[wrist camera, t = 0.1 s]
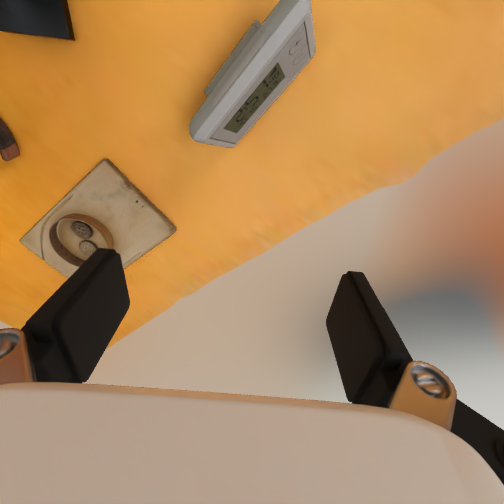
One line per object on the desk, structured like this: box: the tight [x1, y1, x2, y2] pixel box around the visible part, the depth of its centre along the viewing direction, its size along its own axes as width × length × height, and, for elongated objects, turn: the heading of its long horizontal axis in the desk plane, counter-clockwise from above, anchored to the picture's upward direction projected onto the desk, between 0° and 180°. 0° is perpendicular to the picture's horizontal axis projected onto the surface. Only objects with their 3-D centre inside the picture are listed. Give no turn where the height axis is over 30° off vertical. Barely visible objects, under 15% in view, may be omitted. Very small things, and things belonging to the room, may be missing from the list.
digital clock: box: [189, 0, 315, 148], centre depth 29 cm, size 16×9×11 cm, turn 125°
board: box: [20, 159, 176, 278], centre depth 45 cm, size 25×15×3 cm, turn 127°
